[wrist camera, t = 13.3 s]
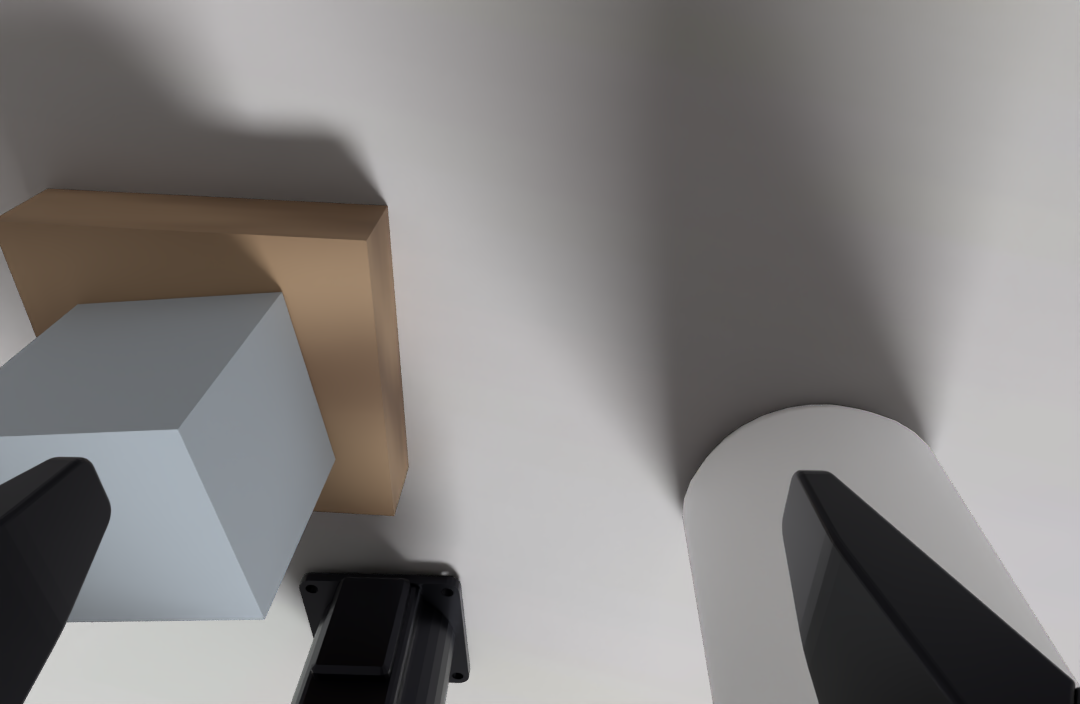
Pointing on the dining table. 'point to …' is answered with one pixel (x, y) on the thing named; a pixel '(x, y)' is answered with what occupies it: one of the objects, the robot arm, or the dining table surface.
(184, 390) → the grey cube
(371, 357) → the walnut block
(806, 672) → the white bottle
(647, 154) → the dining table surface
